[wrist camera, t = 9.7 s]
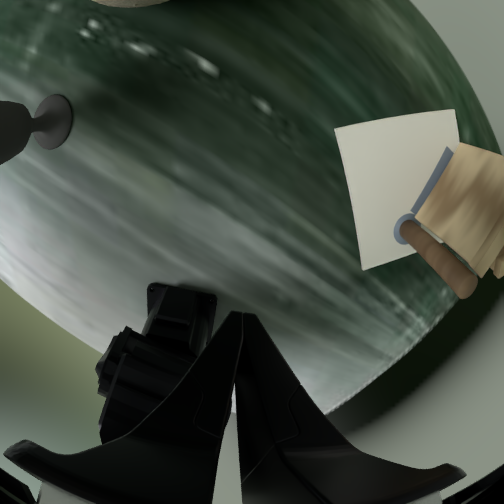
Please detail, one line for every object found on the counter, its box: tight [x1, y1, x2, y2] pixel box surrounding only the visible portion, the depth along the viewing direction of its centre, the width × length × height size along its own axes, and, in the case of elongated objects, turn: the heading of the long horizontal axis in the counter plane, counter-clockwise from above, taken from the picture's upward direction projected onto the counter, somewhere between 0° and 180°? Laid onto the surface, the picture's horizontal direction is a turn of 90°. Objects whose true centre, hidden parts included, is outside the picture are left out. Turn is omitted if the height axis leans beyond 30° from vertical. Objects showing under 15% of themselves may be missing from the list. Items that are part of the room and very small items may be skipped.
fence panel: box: [414, 143, 504, 278], centre depth 15 cm, size 9×1×9 cm, turn 151°
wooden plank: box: [399, 220, 504, 299], centre depth 17 cm, size 8×2×9 cm, turn 108°
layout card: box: [334, 109, 460, 270], centre depth 20 cm, size 12×12×1 cm
